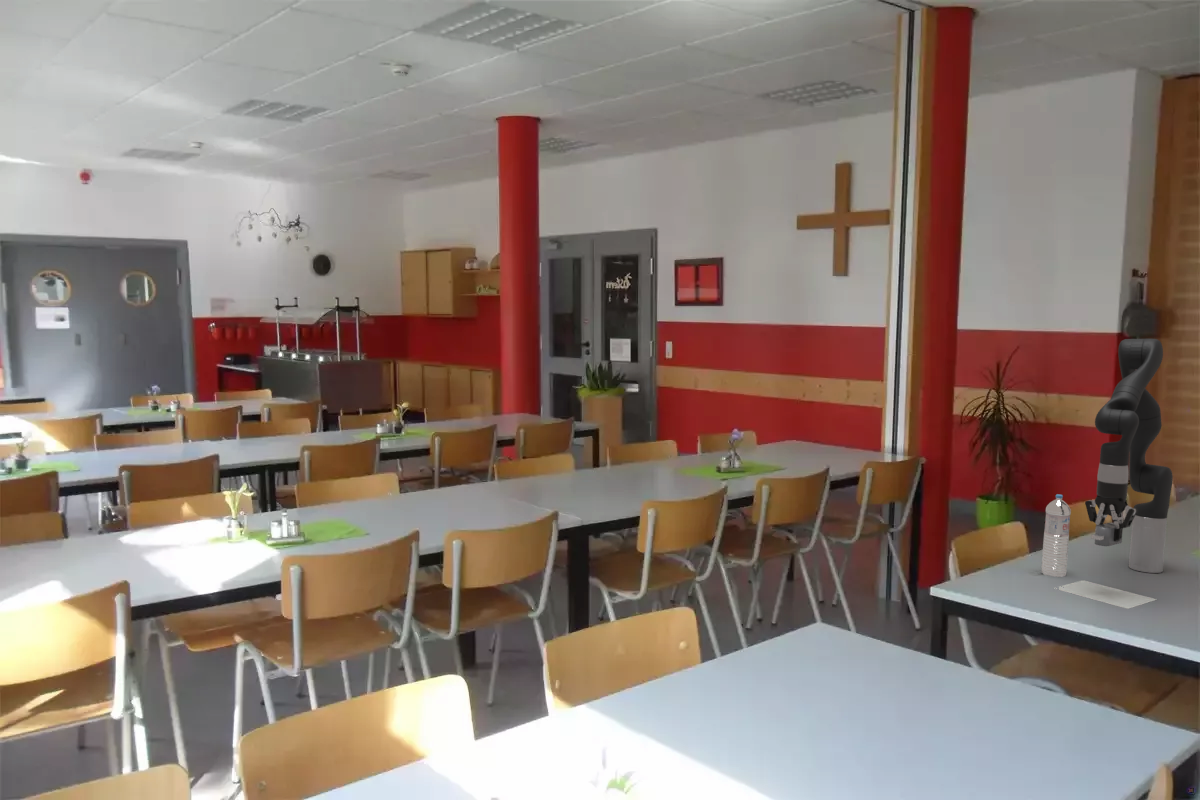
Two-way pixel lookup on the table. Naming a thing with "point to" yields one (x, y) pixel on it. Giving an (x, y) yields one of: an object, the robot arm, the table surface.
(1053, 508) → the water bottle
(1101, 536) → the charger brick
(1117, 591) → the rubber mat
